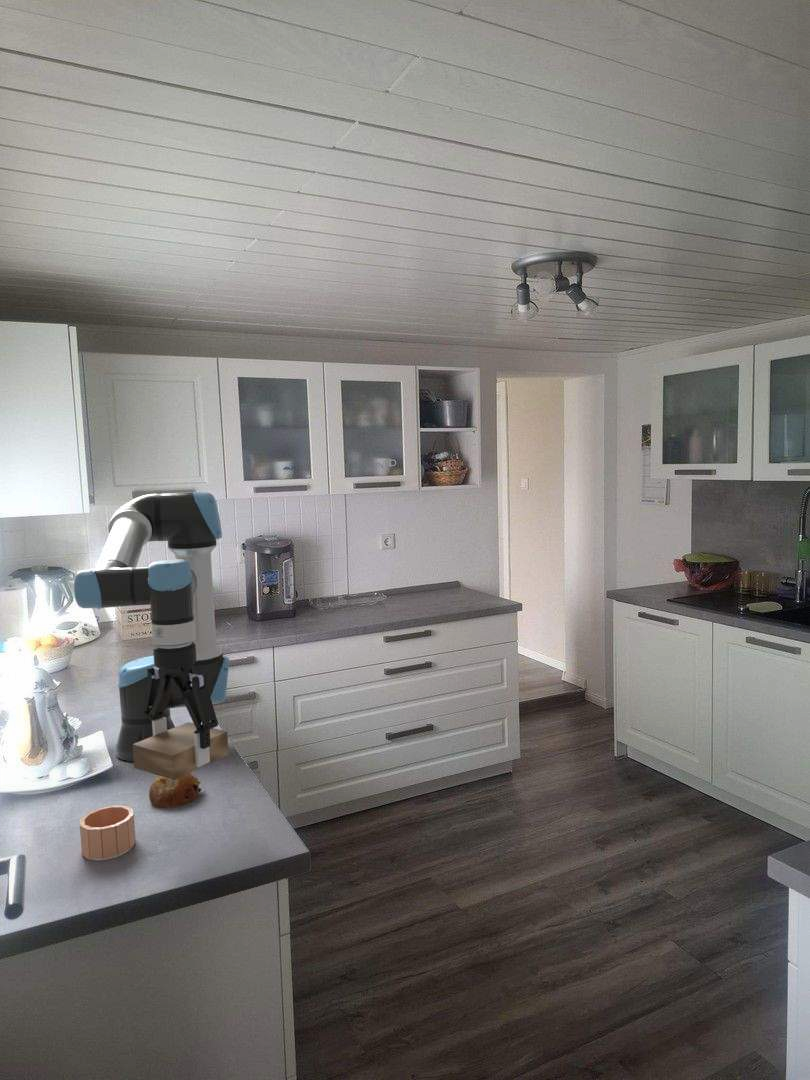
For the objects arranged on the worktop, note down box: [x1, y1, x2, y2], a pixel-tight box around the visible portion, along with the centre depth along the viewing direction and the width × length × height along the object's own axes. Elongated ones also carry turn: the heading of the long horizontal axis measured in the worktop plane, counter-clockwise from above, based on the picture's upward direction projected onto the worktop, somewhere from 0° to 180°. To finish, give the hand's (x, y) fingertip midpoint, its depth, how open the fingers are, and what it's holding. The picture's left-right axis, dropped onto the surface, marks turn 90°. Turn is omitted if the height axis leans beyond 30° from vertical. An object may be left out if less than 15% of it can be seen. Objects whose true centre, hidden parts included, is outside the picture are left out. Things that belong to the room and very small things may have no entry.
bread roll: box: [148, 772, 202, 808], centre depth 153 cm, size 10×10×8 cm
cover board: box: [133, 721, 230, 780], centre depth 134 cm, size 13×11×4 cm
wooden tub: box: [79, 805, 137, 862], centre depth 133 cm, size 9×9×6 cm
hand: (181, 758), depth 134 cm, fingers closed on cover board, 11 cm apart
